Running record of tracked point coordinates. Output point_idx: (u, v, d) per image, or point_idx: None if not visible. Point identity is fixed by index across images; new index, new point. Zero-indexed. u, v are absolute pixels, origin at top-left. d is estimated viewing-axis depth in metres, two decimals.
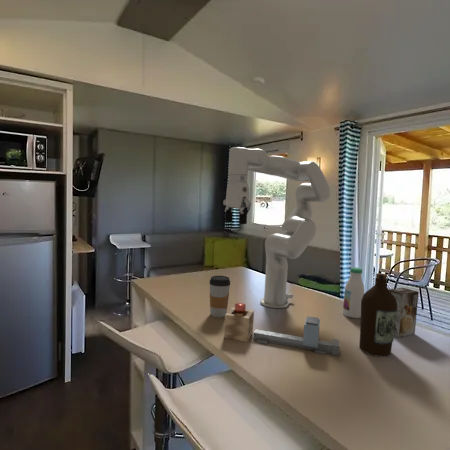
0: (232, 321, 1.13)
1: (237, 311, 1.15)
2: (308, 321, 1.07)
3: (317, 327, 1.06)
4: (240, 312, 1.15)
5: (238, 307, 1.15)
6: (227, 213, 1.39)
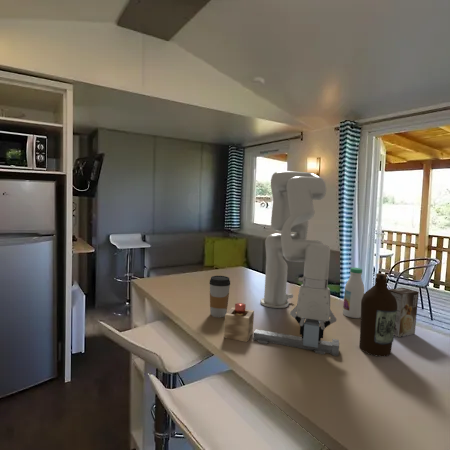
0: (232, 321, 1.13)
1: (237, 311, 1.15)
2: (308, 321, 1.07)
3: (317, 327, 1.06)
4: (240, 312, 1.15)
5: (238, 307, 1.15)
6: (319, 328, 1.10)
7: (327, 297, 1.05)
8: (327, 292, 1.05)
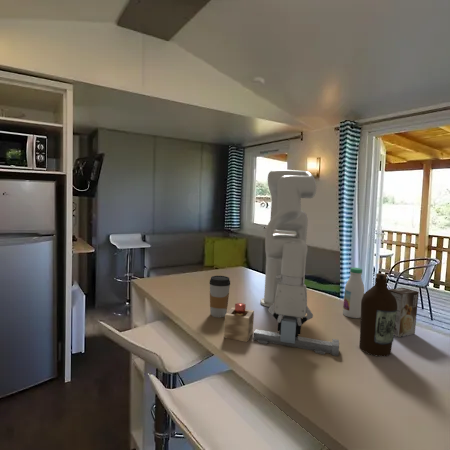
0: (232, 321, 1.13)
1: (237, 311, 1.15)
2: (285, 318, 1.10)
3: (294, 323, 1.08)
4: (240, 312, 1.15)
5: (238, 307, 1.15)
6: None
7: (303, 294, 1.07)
8: (303, 289, 1.07)
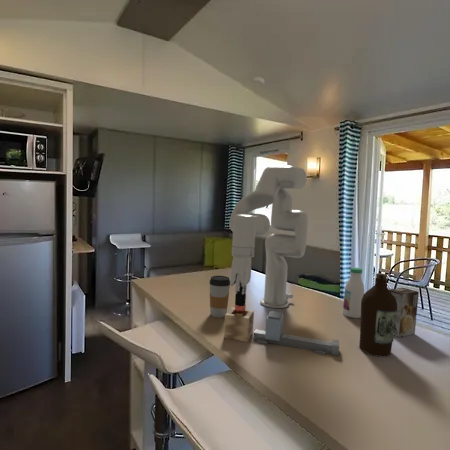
0: (232, 321, 1.13)
1: (237, 311, 1.15)
2: (270, 316, 1.11)
3: (278, 321, 1.09)
4: (240, 312, 1.15)
5: (238, 307, 1.15)
6: None
7: (232, 263, 1.12)
8: (233, 258, 1.12)
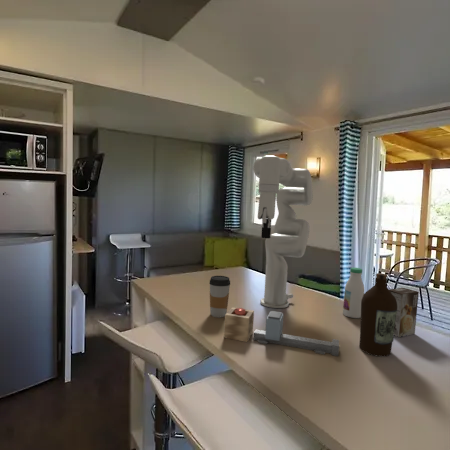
0: (232, 321, 1.13)
1: None
2: (270, 316, 1.11)
3: (278, 321, 1.09)
4: None
5: (238, 312, 1.15)
6: None
7: (259, 198, 1.26)
8: (260, 194, 1.26)
